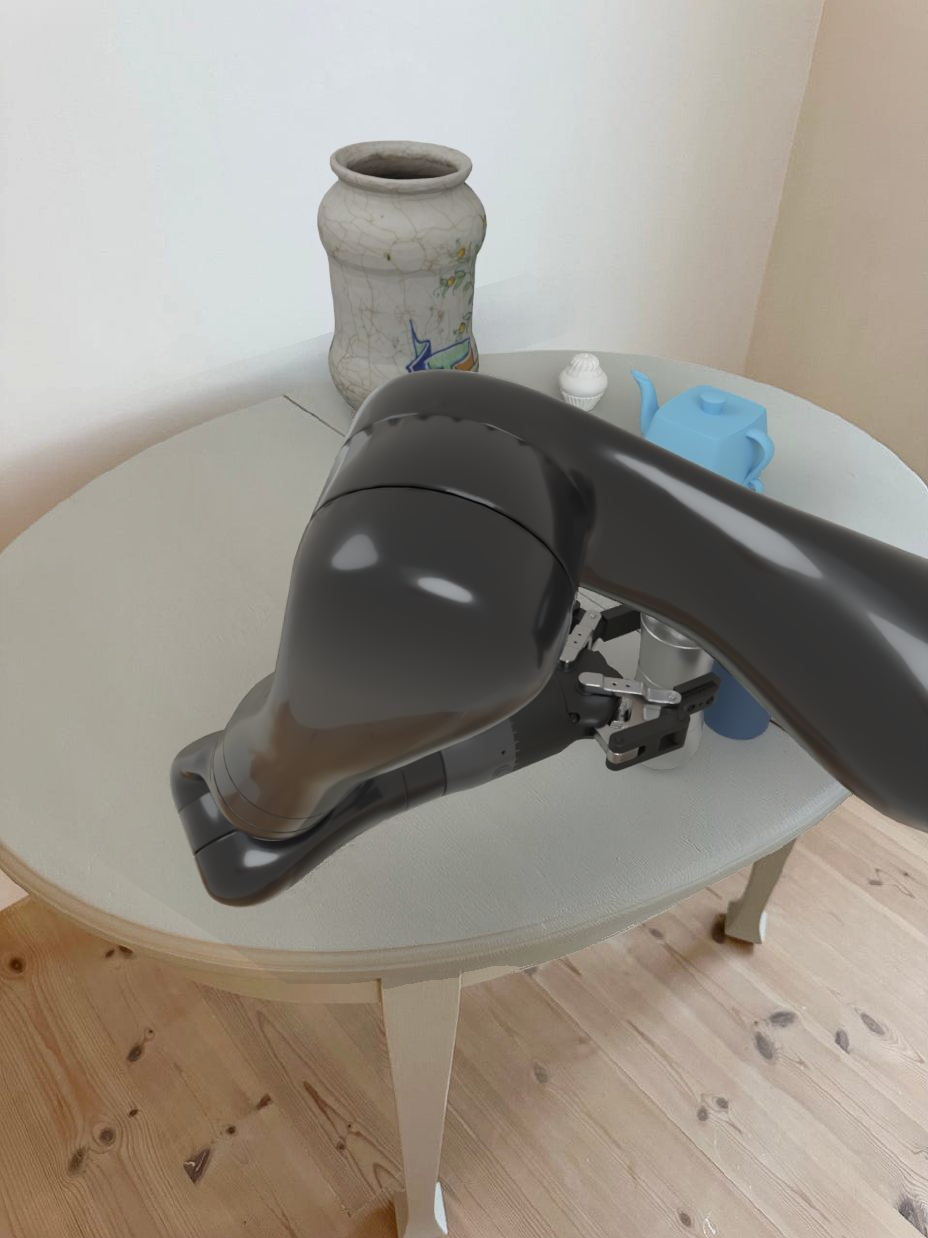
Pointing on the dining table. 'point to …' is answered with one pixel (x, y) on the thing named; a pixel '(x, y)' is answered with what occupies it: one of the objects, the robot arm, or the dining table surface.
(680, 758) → the silver metal bottle
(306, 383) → the dining table surface
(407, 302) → the vase
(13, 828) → the dining table surface
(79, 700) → the dining table surface
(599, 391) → the muffin
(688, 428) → the teapot
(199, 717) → the dining table surface
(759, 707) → the blue canister
